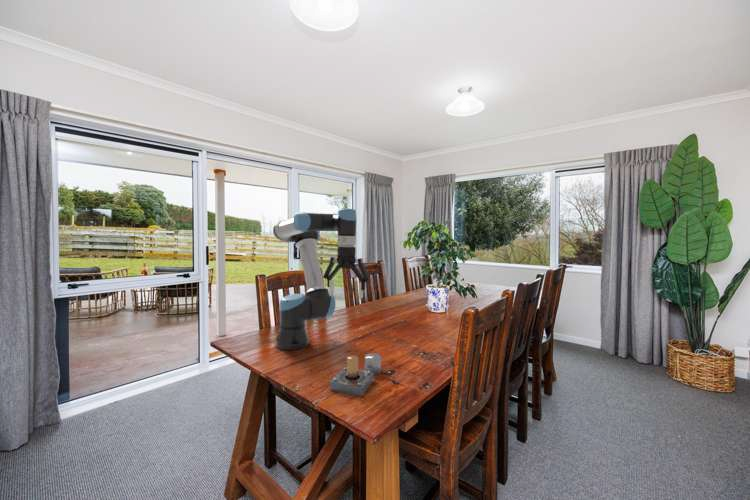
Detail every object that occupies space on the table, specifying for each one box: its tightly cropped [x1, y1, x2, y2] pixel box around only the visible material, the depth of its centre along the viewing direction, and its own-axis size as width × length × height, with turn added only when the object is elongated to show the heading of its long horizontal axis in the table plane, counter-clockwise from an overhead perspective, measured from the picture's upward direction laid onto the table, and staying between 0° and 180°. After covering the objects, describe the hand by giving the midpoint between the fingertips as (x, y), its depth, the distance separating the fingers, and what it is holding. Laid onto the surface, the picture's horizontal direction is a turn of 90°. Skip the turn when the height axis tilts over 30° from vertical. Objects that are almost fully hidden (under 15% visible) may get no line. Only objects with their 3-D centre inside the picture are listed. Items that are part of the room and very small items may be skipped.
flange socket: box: [329, 366, 375, 397], centre depth 114 cm, size 12×12×4 cm
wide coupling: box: [363, 352, 382, 376], centre depth 125 cm, size 6×6×6 cm
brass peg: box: [346, 354, 359, 380], centre depth 114 cm, size 4×4×10 cm
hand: (345, 296), depth 135 cm, fingers open, 13 cm apart
